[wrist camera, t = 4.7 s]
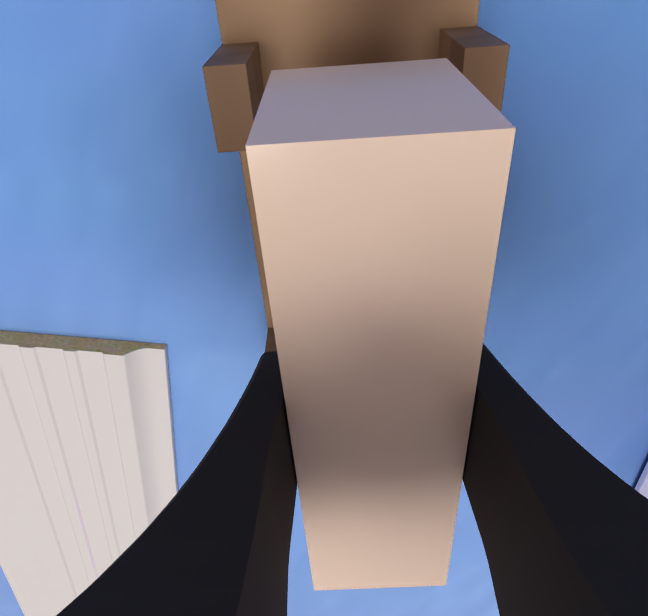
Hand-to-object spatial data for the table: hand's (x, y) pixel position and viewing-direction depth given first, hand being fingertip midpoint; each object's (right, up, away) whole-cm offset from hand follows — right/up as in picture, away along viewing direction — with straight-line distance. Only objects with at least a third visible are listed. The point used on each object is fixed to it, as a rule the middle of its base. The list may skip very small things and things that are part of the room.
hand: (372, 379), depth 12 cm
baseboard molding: (-14, -12, +20) cm, 27 cm away
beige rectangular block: (0, +2, +2) cm, 3 cm away
